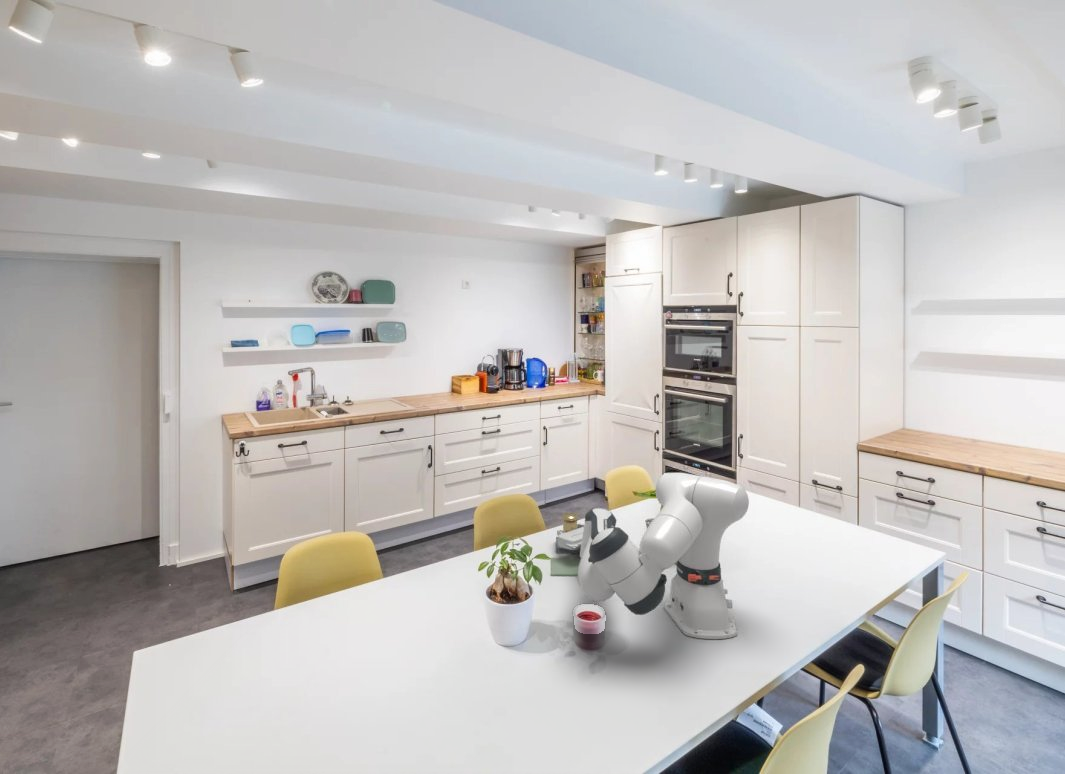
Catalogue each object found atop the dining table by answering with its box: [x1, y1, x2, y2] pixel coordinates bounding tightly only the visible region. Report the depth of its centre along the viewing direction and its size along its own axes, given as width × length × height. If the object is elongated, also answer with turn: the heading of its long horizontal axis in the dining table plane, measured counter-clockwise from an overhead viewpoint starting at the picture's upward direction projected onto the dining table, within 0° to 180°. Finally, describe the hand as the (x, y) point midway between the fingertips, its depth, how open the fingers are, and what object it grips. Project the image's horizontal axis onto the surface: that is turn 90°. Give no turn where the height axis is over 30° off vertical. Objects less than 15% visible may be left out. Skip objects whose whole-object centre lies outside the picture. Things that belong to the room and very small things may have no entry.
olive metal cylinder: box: [561, 511, 579, 533], centre depth 197 cm, size 6×6×12 cm
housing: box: [555, 536, 581, 555], centre depth 197 cm, size 10×10×2 cm
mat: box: [550, 557, 581, 577], centre depth 183 cm, size 12×10×1 cm
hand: (568, 529), depth 197 cm, fingers open, 8 cm apart
